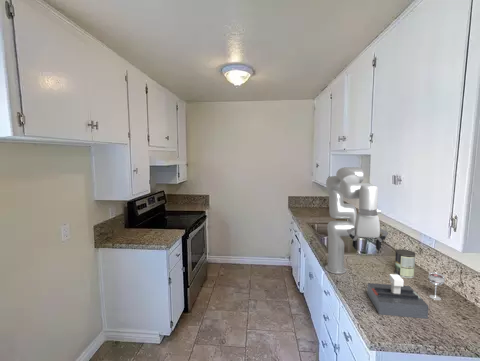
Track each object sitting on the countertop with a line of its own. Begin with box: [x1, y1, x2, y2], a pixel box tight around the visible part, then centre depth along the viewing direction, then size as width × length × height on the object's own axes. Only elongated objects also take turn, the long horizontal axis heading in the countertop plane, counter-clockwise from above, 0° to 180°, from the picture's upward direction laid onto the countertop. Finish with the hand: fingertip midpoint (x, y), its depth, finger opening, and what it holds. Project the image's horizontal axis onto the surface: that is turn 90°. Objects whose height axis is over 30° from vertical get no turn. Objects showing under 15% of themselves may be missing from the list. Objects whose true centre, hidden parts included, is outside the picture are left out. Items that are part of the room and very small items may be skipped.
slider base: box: [366, 282, 429, 320], centre depth 127 cm, size 18×20×7 cm
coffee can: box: [394, 248, 416, 279], centre depth 159 cm, size 10×10×14 cm
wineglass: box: [427, 271, 446, 301], centre depth 133 cm, size 7×7×12 cm
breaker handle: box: [388, 273, 405, 294], centre depth 126 cm, size 6×4×8 cm, turn 170°
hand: (366, 249), depth 120 cm, fingers open, 9 cm apart
